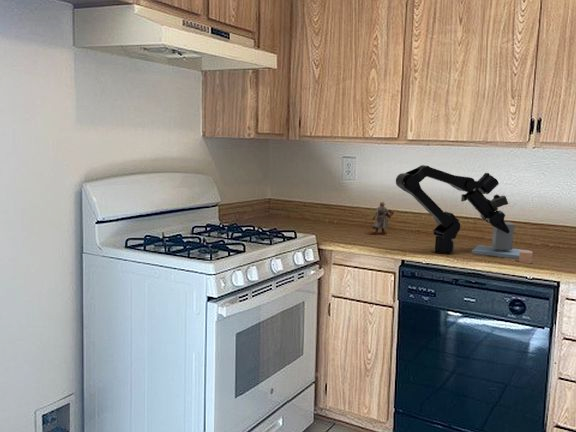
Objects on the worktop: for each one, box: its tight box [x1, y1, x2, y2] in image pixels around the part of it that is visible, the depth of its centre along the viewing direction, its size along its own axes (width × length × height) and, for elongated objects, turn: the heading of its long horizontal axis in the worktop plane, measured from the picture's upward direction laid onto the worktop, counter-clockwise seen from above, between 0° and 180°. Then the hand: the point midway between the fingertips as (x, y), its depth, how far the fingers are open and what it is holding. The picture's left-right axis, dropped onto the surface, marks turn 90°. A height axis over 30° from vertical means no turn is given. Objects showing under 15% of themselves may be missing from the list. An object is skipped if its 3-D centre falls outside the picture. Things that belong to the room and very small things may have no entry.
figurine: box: [370, 201, 395, 235], centre depth 260 cm, size 14×7×15 cm, turn 111°
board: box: [471, 244, 531, 260], centre depth 222 cm, size 20×14×1 cm
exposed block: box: [518, 249, 534, 265], centre depth 206 cm, size 4×4×4 cm
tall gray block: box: [491, 221, 515, 250], centre depth 221 cm, size 6×6×10 cm
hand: (506, 231), depth 220 cm, fingers open, 7 cm apart
